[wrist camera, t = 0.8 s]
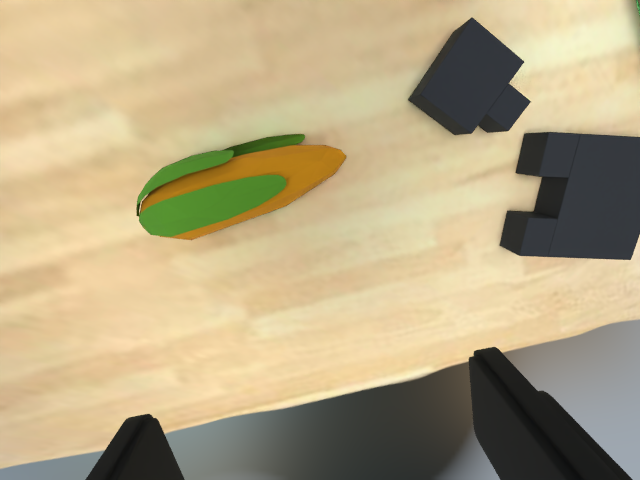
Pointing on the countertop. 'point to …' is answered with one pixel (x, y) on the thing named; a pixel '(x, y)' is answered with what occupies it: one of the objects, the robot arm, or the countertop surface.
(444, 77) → the tab pad
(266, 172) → the corn
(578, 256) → the notch pad
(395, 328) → the countertop surface
